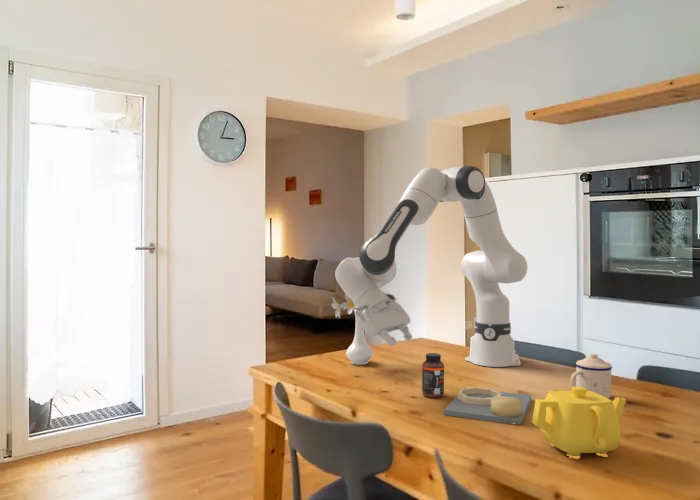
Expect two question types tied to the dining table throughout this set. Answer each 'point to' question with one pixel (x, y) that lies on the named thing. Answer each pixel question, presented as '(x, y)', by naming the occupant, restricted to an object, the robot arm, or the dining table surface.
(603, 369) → the teacup with lid
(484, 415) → the carrier plate
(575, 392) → the teapot
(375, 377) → the dining table surface
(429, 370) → the supplement bottle
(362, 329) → the flower vase
